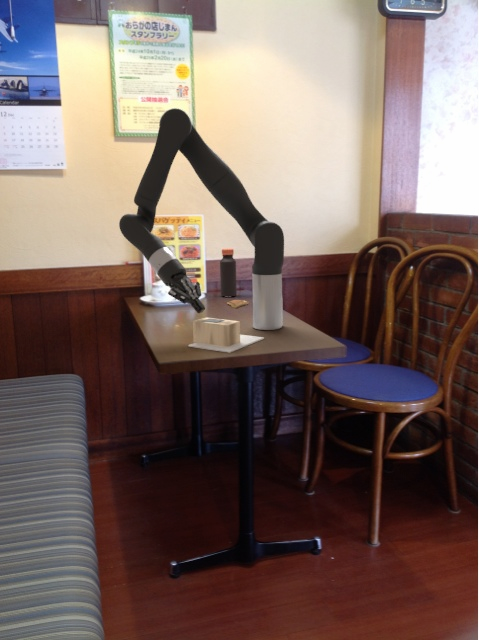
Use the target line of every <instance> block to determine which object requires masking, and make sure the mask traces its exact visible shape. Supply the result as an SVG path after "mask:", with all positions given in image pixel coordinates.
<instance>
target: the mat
mask: <svg viewBox="0 0 479 640" xmlns="http://www.w3.org/2000/svg"><path fill="white" fill-rule="evenodd" d="M264 339H265V337H263V336H255V335H248V334H247V335H246V334H241V333H240V342H239V343H237V344H234V345H231V346H229V347H227V346H220V345H213V344H206V343H200V342H193V343H190V344H188V345H187V347H190V348H196V349H201V350H209V351H216V352H222V353H228V354H230V353H233V352H235V351H238V350H240V349H243V348H245V347H247V346H250V345H252V344H255V343H257V342H259V341H262V340H264Z"/></svg>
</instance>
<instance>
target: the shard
mask: <svg viewBox="0 0 479 640" xmlns="http://www.w3.org/2000/svg"><path fill="white" fill-rule="evenodd" d="M226 303H227V305H228V304H229V305H228V306H231V307H232V308H234V309H238V308H240V307H243V306H246V305H248V304H250V302H249V301H247V300H241V299H234V300H230V301H228V302H226Z"/></svg>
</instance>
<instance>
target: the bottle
mask: <svg viewBox="0 0 479 640" xmlns="http://www.w3.org/2000/svg"><path fill="white" fill-rule="evenodd" d="M221 256H222V258H221V260H220V261H219V275H220V280H219V281H220V296H221V297H222V296H235V297H237V296H238V295H237V294H238V293H237V261H236V259H235V258H234V248H222V249H221Z"/></svg>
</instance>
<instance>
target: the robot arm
mask: <svg viewBox="0 0 479 640" xmlns="http://www.w3.org/2000/svg"><path fill="white" fill-rule="evenodd" d="M156 137H157V138H156V142H155V145H154V148H153V150H152V151H153V152H152V154H151V156H150V160H149V161H148V164H147V166H146V168H145V170H144V173H143V175H142V176H141V179H140V181H139V185H138V187H137V189H136V191H135V194H134V198H133V202H134V204H135V205H136V206H137V211H136V214H135V213H126V214H124V215H122V216H121V218H120V219H119V225H118V226H119V231H120V233H121V234H122V235H123V237H124V238H125V240H127V241H128V242H129V243H130V244H131V245H132V246H134V248H136V249H137V250H138V251H139V252H141V254H142V255H143V257H144V258H145V259H146V260H147V262H148V263H149V264H150V267H151V268H152V270H153V271H154V272H155V274H156V275H157V276H158V277H159V279H160V280H161V281H162V283H163V284H164V285H165V286H166V287H169V288H170V289H169V291H168V292H167V294H168V295H169V296H170V297H172V298H174V299H175V300H177V301H179V302H181V303H182V304H188V305H190V306H191V307H192V308H193V309H194V311H195V312H196V313H197V314H201V313H203V312H204V311H205V310H206V306H205V305H204V304H203V302H201V300H200V297H201V296H202V289H201V284H200V282H199V281H196V282H193V281H192V279H191V278H189V277H188V276H187V269H186V268H185V266H184V265H183V264H182V263H181V261H180V260H179V259H178V257H176V255H175V254H174V253H173V252H172V251H171V250H170V249H169V248H168V246H167V245H166V244H165V243H164V241H163V240H162V239H161V238H160V237H159V236H158V235H156V234H153V233H152V231H153V229H154V227H155V226H154V225H155V219H156V214H157V206H158V205H159V202H160V199H161V197H162V194H163V191H164V189H165V186H166V183H167V181H168V177H169V174H170V171H171V167H172V165H173V163H174V160H175V159H176V156H177V154H178V153H179V152H180V153H181V154H182V155H183V156H184V158H186V160H187V161H188V162H189V164H190V165H191V168H192V169H193V171H194V172H195V174H196V175H197V177H198V178H199V179H200V181H201V183H202V184H203V186H204V187H205V188H206V189H207V191H208V192H209V193H210V194H211V196H212V197H213V198H214V199H215V201H217V202H218V203H219V204H220V206H221V207H222V208H223V209H224V210H225V211H226V212H227V213H228V214H229V215H230V216H231V217H232V218H233V219H234V220H235V222H236V223H237V224H238V225H239V227H240V228H241V229H242V231H243V233H244V234H245V235H246V238H247V239H248V241H249V242H250V243H251V244H252V246H253V248H254V260H253V264H252V268H251V272H252V276H251V277H252V279H251V280H252V328H254V329H256V330H259V331H260V330H262V331H271V330H273V331H274V330H279V329H281V328H283V324H284V319H283V317H284V316H283V315H284V314H283V313H284V311H283V307H284V306H283V301H284V300H283V298H284V296H283V287H282V286H283V284H282V283H283V281H282V280H283V277H282V275H283V265H284V260H285V259H284V257H285V255H284V254H285V237H284V236H285V235H284V230H283V229H282V227H281V226H280V225H279V224H278V223H276V222H273V221H268V219H267V218H265V217H264V216H263V214H261V212H260V211H259V210H258V209H257V207H256V206H255V205H254V204H253V202H252V200H251V198H250V196H249V195H248V192H247V189H246V187H245V186H244V185H243V182H242V181H241V180H240V178H239V177H238V176H237V175H236V174H235V172H234V171H233V170H232V169H231V167H230V166H229V165H228V164H227V163H226V162H225V161H224V160H223V159H222V158H221V157H220V156H219V155H218V154H217V153H216V152H215V151H214V150H213V149H212V148H211V147H210V146H209V145H208V144H207V143H206V142H205V141H204V139H203V138H202V136H201V134H200V133H199V132H198V131H197V129H196V127H195V125H194V124H193V122H192V119H191V117H190V116H189V114H188V113H187V112H186V111H185V110H183V109H181V108H179V107H178V108H177V107H176V108H175V107H174V108H170V109H167V110H166V111H164V112H163V113H162V115H161V116H160V118H159V127H158V131H157V136H156Z"/></svg>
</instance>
